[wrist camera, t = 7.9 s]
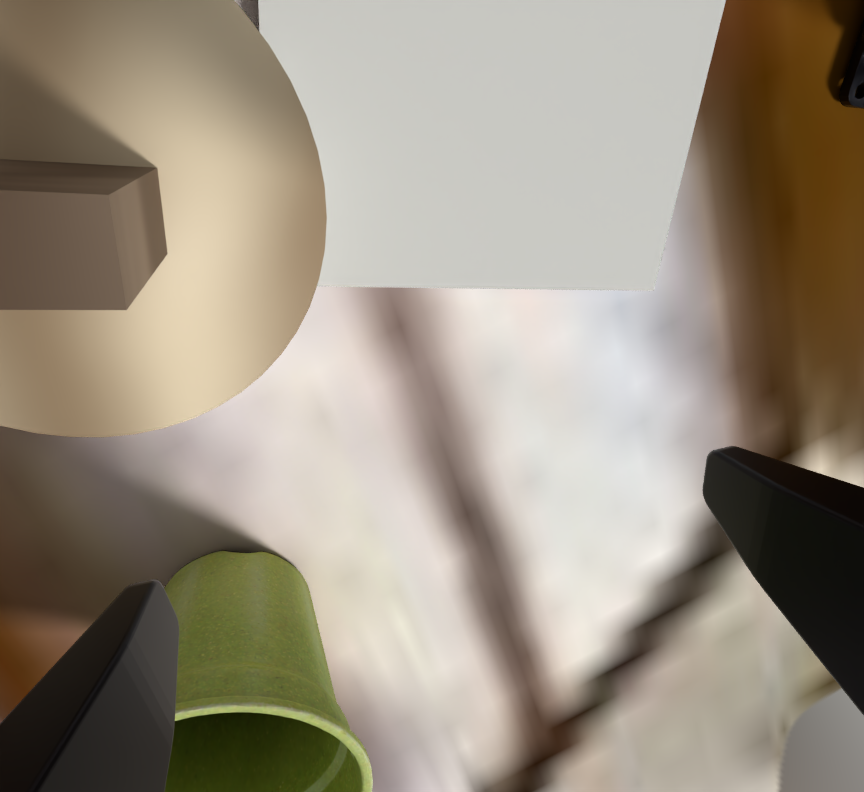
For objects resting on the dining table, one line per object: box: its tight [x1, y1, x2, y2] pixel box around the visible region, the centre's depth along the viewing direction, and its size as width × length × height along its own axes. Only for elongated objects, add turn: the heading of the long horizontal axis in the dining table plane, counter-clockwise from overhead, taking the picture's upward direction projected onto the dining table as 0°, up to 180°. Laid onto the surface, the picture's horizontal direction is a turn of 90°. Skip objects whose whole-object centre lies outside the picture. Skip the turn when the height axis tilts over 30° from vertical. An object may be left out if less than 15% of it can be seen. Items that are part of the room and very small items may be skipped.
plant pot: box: [164, 551, 373, 792], centre depth 21 cm, size 9×9×9 cm
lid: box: [0, 0, 327, 437], centre depth 11 cm, size 11×11×5 cm
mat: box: [258, 0, 726, 291], centre depth 18 cm, size 14×14×1 cm
